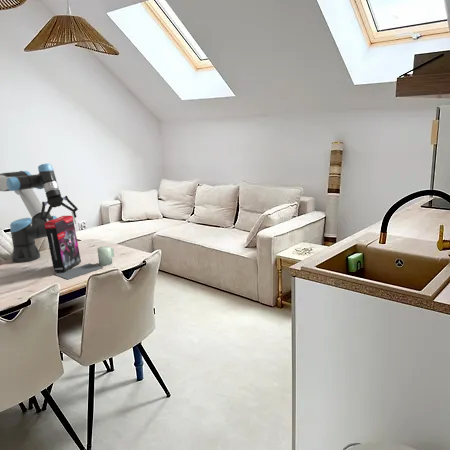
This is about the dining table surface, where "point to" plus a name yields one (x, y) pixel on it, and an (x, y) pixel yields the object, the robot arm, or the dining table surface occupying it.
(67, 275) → the display mat
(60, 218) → the graphics card box
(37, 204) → the robot arm
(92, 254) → the dining table surface
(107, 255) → the sage mug
